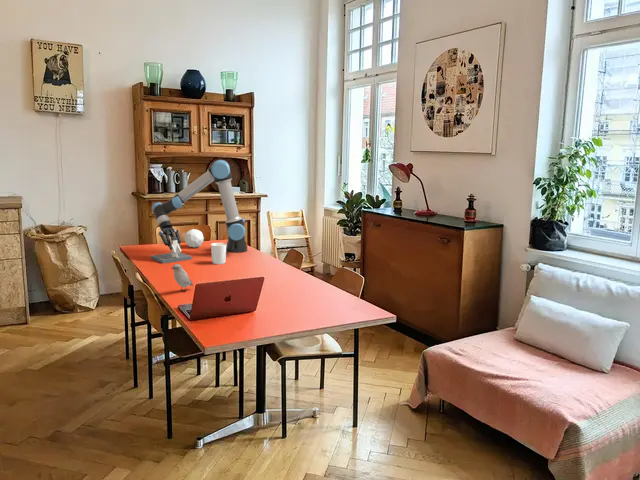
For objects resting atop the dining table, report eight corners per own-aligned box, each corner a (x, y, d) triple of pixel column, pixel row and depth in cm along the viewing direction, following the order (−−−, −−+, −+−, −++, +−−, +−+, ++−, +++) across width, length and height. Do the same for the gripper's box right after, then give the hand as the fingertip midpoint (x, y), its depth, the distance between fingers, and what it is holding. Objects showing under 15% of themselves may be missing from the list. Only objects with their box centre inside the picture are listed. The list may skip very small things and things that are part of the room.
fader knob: (176, 256, 345) (175, 236, 342) (178, 256, 343) (177, 237, 340) (171, 256, 342) (170, 237, 340) (173, 257, 341) (172, 238, 338)
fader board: (178, 254, 359) (178, 251, 359) (191, 259, 347) (191, 256, 347) (150, 258, 346) (150, 255, 346) (162, 263, 334) (162, 260, 333)
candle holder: (228, 261, 344) (228, 243, 342) (224, 264, 335) (224, 246, 332) (213, 260, 345) (213, 242, 343) (208, 264, 335) (208, 245, 333)
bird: (168, 293, 272) (167, 264, 269) (190, 287, 282) (189, 260, 279) (174, 295, 269) (174, 266, 266) (196, 289, 279) (195, 261, 276)
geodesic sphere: (181, 237, 391) (183, 224, 381) (200, 236, 396) (202, 223, 387) (185, 252, 382) (187, 239, 373) (204, 250, 388) (206, 238, 378)
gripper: (174, 225, 356) (187, 254, 347) (151, 228, 345) (163, 257, 336) (177, 219, 351) (191, 248, 342) (154, 221, 340) (167, 251, 331)
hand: (177, 252), depth 339 cm, fingers open, 3 cm apart
